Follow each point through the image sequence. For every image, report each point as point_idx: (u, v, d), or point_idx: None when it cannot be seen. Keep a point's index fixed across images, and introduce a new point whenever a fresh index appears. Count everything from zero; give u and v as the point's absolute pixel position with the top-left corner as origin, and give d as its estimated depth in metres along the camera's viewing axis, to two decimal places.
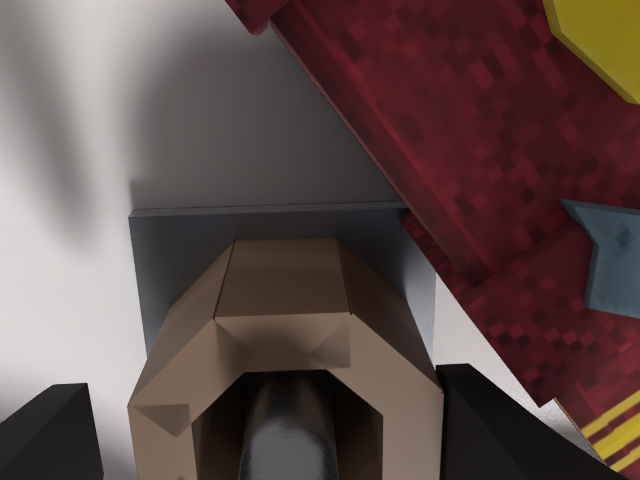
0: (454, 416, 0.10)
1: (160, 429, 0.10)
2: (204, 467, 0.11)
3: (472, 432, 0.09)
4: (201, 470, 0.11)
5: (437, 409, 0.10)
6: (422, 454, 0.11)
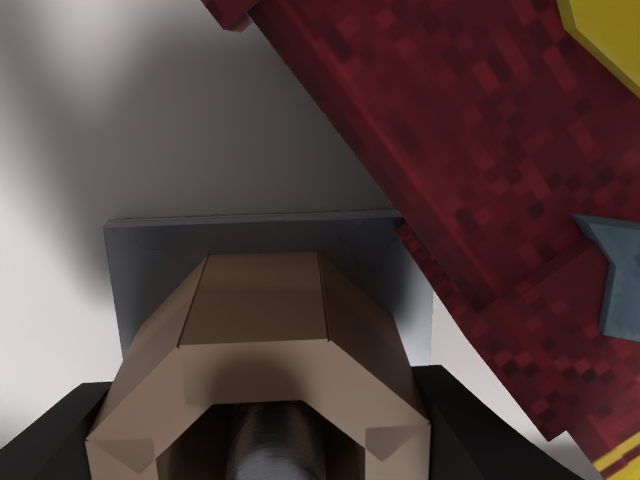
0: None
1: (122, 466, 0.09)
2: None
3: (439, 434, 0.09)
4: None
5: (423, 442, 0.09)
6: None
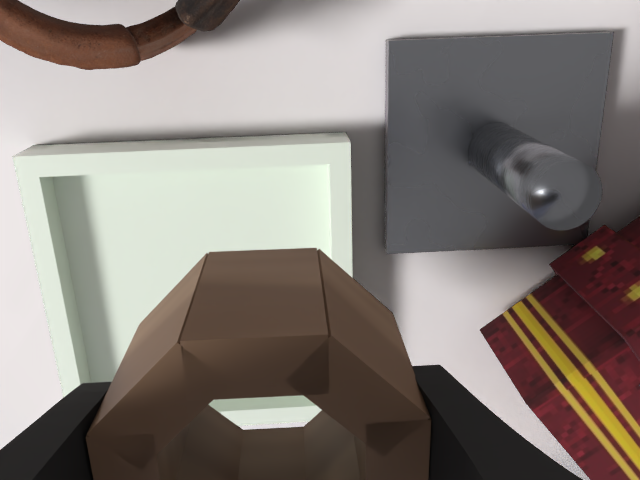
0: None
1: (122, 462, 0.09)
2: None
3: (438, 434, 0.09)
4: None
5: (424, 437, 0.09)
6: None
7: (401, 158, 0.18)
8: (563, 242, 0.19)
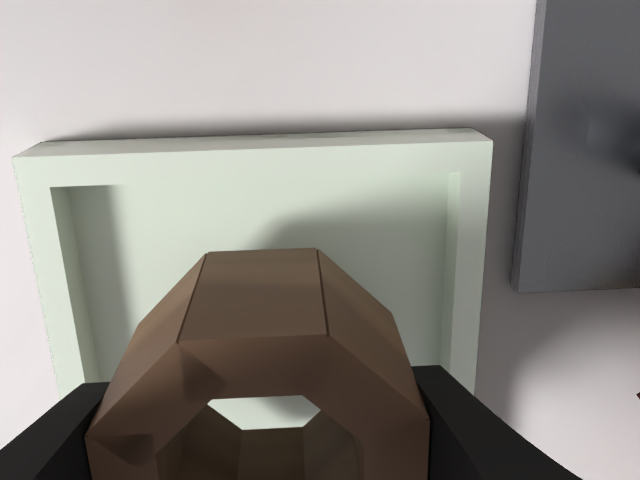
0: None
1: (121, 461, 0.09)
2: None
3: (438, 434, 0.09)
4: None
5: (423, 437, 0.09)
6: None
7: (549, 163, 0.13)
8: None
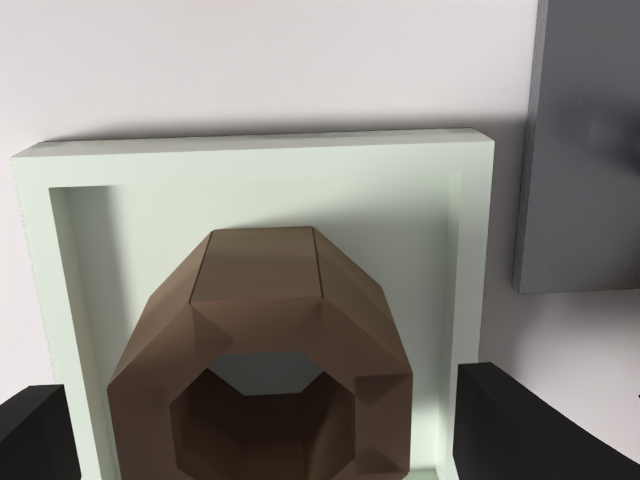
0: (479, 415, 0.10)
1: (139, 411, 0.10)
2: (183, 449, 0.11)
3: (499, 430, 0.09)
4: (180, 451, 0.11)
5: (407, 389, 0.11)
6: (393, 433, 0.11)
7: (550, 164, 0.13)
8: None
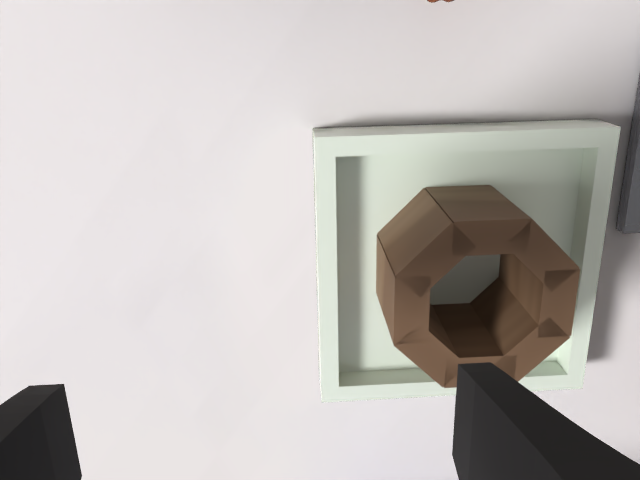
0: (479, 414, 0.10)
1: (411, 292, 0.17)
2: None
3: (499, 430, 0.09)
4: None
5: (575, 279, 0.17)
6: (564, 309, 0.17)
7: None
8: None
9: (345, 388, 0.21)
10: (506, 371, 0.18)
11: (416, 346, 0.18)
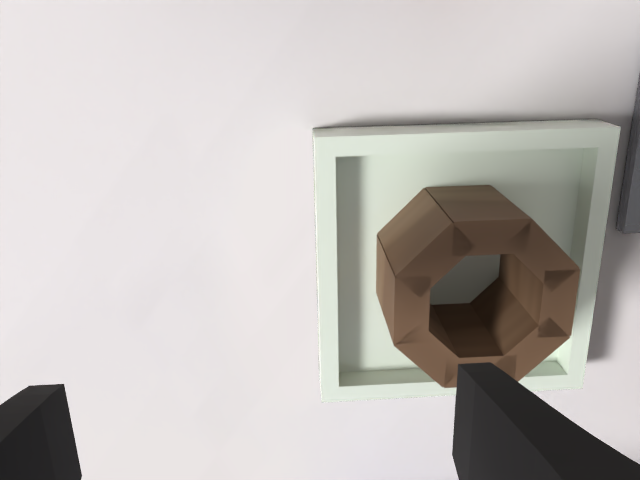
0: (479, 414, 0.10)
1: (411, 292, 0.17)
2: None
3: (499, 430, 0.09)
4: None
5: (575, 279, 0.17)
6: (564, 309, 0.17)
7: None
8: None
9: (345, 388, 0.21)
10: (506, 371, 0.18)
11: (416, 346, 0.18)
